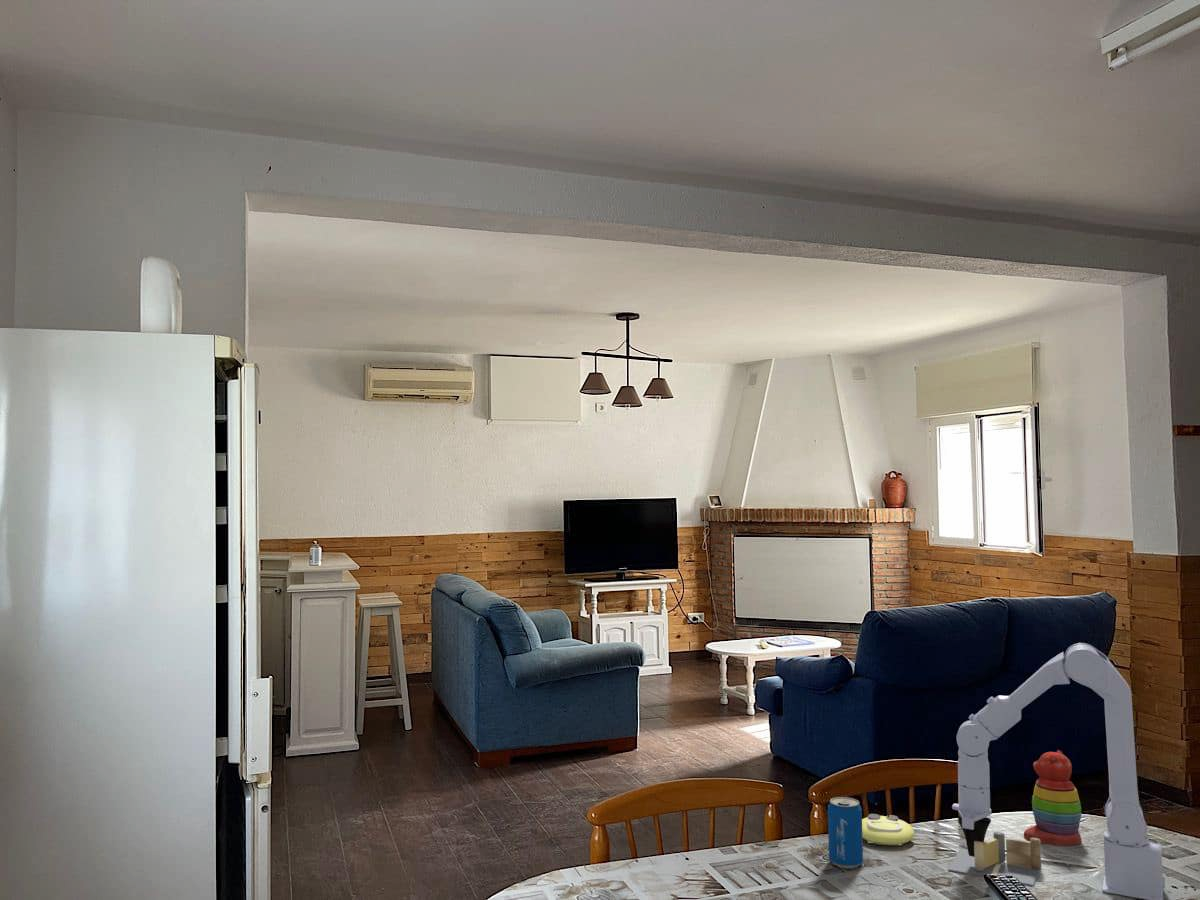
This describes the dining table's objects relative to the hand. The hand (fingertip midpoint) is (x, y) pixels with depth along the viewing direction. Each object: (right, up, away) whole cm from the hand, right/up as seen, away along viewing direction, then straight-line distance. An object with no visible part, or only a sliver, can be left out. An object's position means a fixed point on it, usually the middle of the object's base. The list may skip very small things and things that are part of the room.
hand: (975, 856), depth 185 cm
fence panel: (+3, -1, -1) cm, 3 cm away
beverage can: (-25, -3, +2) cm, 25 cm away
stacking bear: (+23, -3, +16) cm, 28 cm away
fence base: (+9, -2, -1) cm, 9 cm away
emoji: (-13, -4, +16) cm, 21 cm away
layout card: (+4, -2, 0) cm, 4 cm away
